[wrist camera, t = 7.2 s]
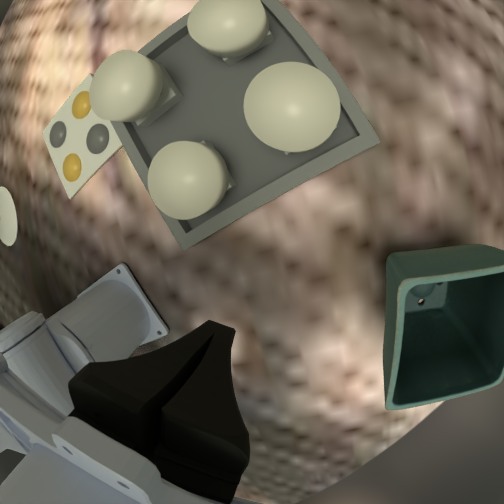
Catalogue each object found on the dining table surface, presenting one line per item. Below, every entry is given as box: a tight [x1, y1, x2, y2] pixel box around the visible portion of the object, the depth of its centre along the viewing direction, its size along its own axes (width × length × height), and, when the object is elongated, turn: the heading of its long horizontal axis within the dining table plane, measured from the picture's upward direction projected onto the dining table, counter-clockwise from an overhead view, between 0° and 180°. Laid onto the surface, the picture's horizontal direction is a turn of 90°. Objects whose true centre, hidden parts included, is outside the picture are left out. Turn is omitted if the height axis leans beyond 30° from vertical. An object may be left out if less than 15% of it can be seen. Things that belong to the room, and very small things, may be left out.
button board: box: [110, 0, 380, 251], centre depth 18 cm, size 16×16×2 cm
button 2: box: [187, 0, 269, 57], centre depth 15 cm, size 5×5×4 cm
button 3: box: [148, 141, 229, 220], centre depth 19 cm, size 5×5×4 cm
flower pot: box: [383, 244, 504, 410], centre depth 16 cm, size 9×9×9 cm
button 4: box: [89, 50, 163, 122], centre depth 16 cm, size 5×5×4 cm
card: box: [42, 73, 123, 199], centre depth 22 cm, size 9×9×1 cm
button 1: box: [243, 62, 340, 153], centre depth 15 cm, size 5×5×4 cm
